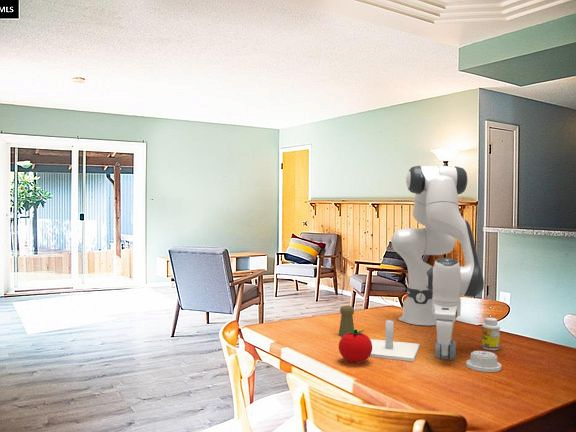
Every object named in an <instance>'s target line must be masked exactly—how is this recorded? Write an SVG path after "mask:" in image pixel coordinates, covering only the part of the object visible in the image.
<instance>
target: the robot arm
mask: <svg viewBox="0 0 576 432" xmlns="http://www.w3.org/2000/svg"><path fill="white" fill-rule="evenodd" d="M405 177H406V178H405V182H406V186H407V190H408V191H409V192H410V193H412V194H415V195H414V196H415V197H414V202H413V209H412V210H413V211H412V215H413V218H414V220H415V221H416V222H418V224H421V225H422V226H424V228H423V227H422V228H421V227H420V228H419V227H418V228H416V227H415V228H412V227H411V228H408V227H407V228H401V229H397V230H395V231H394V233H392V234H393V235H392V236H391V240H390V242H391V247H392V250H394V252H395V253H397V254H398V255H399V256H400V257H401V258H402V259H403V260H404V263H405V265H406V267H407V275H408V287H407V291H406V295H407V297H406V299H404V300H403V303H402V304H403V305H402V306H403V307H402V315H401V316H399V317H398V321H401V322H405V323H406V324H409V325H410V324H411V325H416V326H436V338H437V339H438V343H439V344H441V348H442V355H445V356H447V355H448V345H450V342H451V340H452V336H453V335H452V334H453V330H454V323H455V322H456V321H457V318H458V317H460V316H461V315H462V314H461V311H462V310H461V309H462V308H461V307H462V306H461V304H462V302H461V301H462V299H461V296H463V297H471V298H474V297H477V296H478V295H479V294H481V293H482V292H483V291H484V289H485V288H484V287H485V279H484V275H483V273H482V269H481V266H480V265H481V264H480V262H479V257H478V256H479V255H478V252H477V247H476V244H475V239H474V236H473V232H472V228H471V225H470V223H469V221H468V220H466V219H464V218H463V216H462V214H461V212H460V208H459V206H460V205H459V195H461V194H463V193H464V192H465V191H466V190H467V189H466V188H467V186H468V182H469V180H468V173H467V171H466V169H464V168H463V167H461V166H460V167H459V166H450V165H440V164H439V165H422V166H421V165H415V166H412V167H410V168H409V169H408V171H407V174H406V176H405ZM456 240H457V241H458V242H459V243H460V244H461V250H462V254H463V258H464V262H465V265H464V266H461V265H460V262H459V260H457V259H455V258H452V257H440V258H437V259H435V261H434V265H433V266H432V265H430V264H429V263H427V262H425V261H423V257H422V256H440V255H446V254H450V253H451V252H453V249H454V248H455V245H456Z"/></svg>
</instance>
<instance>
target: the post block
mask: <svg viewBox="0 0 576 432" xmlns="http://www.w3.org/2000/svg"><path fill="white" fill-rule="evenodd" d="M394 321H395V320H391V319H389V320H388V319H387V320H385V335H384V337H385V339H383V340H382V339H372V338H369V339H370V340H371V342H372V352H371V355H370V356H369V358H377V359H388V360H397V361H405V362H414V361H415V360H416V357H417V354H418V351H419V349H420V343H413V342H405V341H394V325H395V324H394Z"/></svg>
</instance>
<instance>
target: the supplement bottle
mask: <svg viewBox="0 0 576 432" xmlns="http://www.w3.org/2000/svg"><path fill="white" fill-rule="evenodd" d="M500 330H501V328H500V325H499V324H498V319H497V318H494V317H486V318H484V323H482V328H481V334H482V335H481V347H482V349H484V350H486V351H497V350H499V349H500Z"/></svg>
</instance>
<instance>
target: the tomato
mask: <svg viewBox="0 0 576 432" xmlns="http://www.w3.org/2000/svg"><path fill="white" fill-rule="evenodd" d="M351 331H352V332H349V333H347V334H345V335H344V336H343V337H341V338H340V339H339V343H338V351H339V353H340V356H341V357H343V359H344V360H346V361H348V362H350V363H354V364H356V363H357V364H358V363H362V362H365V361H366V360H368V359H369V358H370V357H369V356H370V355H371V352H372V342H371V340H370V339H371V338H370V337H369V336H368V335H366V334H365V333H364V331H365V330H364V329H362V330H360V331H358V329H354V330H353V329H351ZM346 332H347V331H346Z"/></svg>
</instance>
